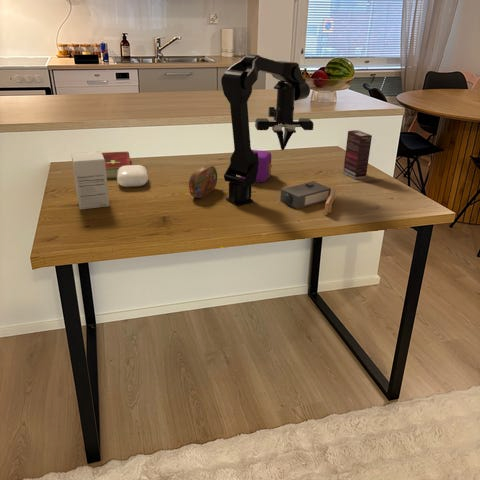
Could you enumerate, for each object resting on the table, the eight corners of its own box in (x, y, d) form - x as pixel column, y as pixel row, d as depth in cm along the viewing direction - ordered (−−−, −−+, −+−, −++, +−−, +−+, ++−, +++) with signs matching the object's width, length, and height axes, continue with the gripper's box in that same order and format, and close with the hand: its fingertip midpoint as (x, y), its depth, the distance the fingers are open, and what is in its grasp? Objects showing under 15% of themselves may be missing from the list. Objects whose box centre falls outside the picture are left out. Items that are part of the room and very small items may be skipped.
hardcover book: (129, 161, 189) (129, 150, 187) (132, 177, 171) (131, 166, 169) (98, 162, 186) (97, 152, 185) (97, 179, 168) (95, 168, 166)
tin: (196, 201, 150) (195, 176, 146) (187, 200, 151) (186, 174, 148) (218, 187, 162) (218, 163, 159) (209, 186, 164) (209, 162, 160)
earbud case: (117, 190, 158) (115, 174, 156) (118, 177, 170) (116, 163, 167) (148, 188, 160) (147, 173, 158) (147, 176, 172) (146, 161, 169)
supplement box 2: (366, 178, 174) (372, 135, 167) (355, 179, 173) (361, 136, 166) (353, 171, 181) (358, 129, 174) (342, 172, 180) (347, 130, 173)
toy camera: (271, 172, 179) (273, 145, 174) (270, 184, 167) (271, 156, 162) (243, 170, 180) (243, 144, 175) (239, 182, 167) (240, 154, 163)
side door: (330, 215, 142) (331, 204, 140) (324, 214, 142) (325, 203, 140) (337, 199, 153) (338, 189, 152) (331, 198, 154) (333, 188, 152)
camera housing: (294, 209, 146) (296, 195, 144) (277, 201, 152) (278, 188, 150) (329, 200, 154) (331, 186, 152) (312, 192, 160) (313, 179, 158)
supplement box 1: (77, 199, 150) (70, 152, 143) (106, 196, 153) (101, 150, 146) (79, 210, 142) (72, 161, 135) (110, 206, 145) (105, 158, 138)
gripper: (307, 98, 163) (304, 143, 170) (253, 98, 162) (252, 143, 168) (315, 104, 153) (311, 152, 160) (258, 104, 152) (256, 152, 158)
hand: (282, 149), depth 162 cm, fingers closed
